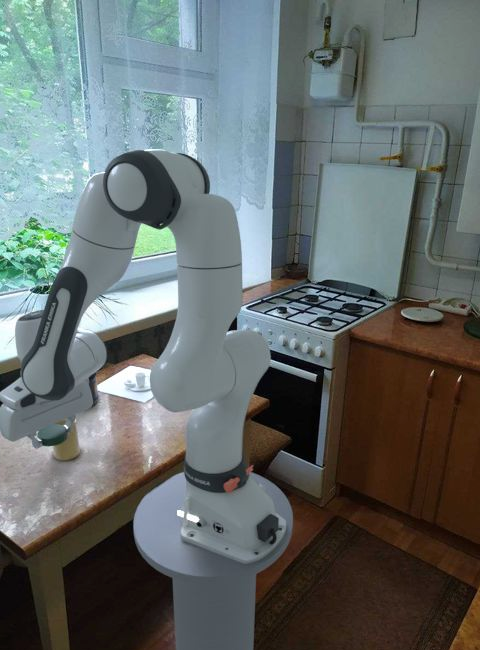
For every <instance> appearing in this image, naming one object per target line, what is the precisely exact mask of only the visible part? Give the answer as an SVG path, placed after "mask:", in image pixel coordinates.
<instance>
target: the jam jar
mask: <svg viewBox="0 0 480 650" xmlns="http://www.w3.org/2000/svg"><path fill="white" fill-rule="evenodd" d="M66 420H67V419H65V420H62V421H60V422H58V423H55V424H58V425H65V423H66ZM55 424H53V425H55ZM72 429H73V432H72V433H70V434H68V437H67V439H66V440H65V441H64V442H63V443H61V444H59V445H55V446H52V448H53V454H54V458H55V459H56V460H59V461H69V460H70V461H71V460H72V459H75V458H77V457H78V456H79V455H80V453H81V449H80V440H79V433H78V425H77V418H76V419H75V422H74V424H73V426H72Z"/></svg>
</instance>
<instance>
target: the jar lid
mask: <svg viewBox="0 0 480 650" xmlns="http://www.w3.org/2000/svg"><path fill="white" fill-rule="evenodd" d="M36 433H37V435H36V438H37V437H38V438H40V439H42V440H43V443H42V444H43V446H42V447H53V446H55V445H59V444H61V443H63V442H64V441H65V440H66V439H67V437H68V433H67V429H66V427H65V426H63V425H58V424H55V425H51V426H49V427H46V428H44V429H42V430H40V431H37V432H36Z"/></svg>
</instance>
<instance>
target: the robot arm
mask: <svg viewBox="0 0 480 650" xmlns="http://www.w3.org/2000/svg"><path fill="white" fill-rule="evenodd" d="M210 192H211V180H210V177H209V174H208V172H207V170H206V167H204V165H203V164H202V163H201V162H200V161H198V160H197V159H196V158H194V157H193V156H191V155H189V154H186V153H181V152H173V151H168V150H165V149H132V150H127V151H125V152H122V153H120V154H118V155H117V156H115V157H114V158H112V160H110V161H109V163H108V164H107V166H106V168H105V170H104V171H101V172H97V173H94V174H93V175H92V176H91V177H89V178H88V180H87V182H86V184H85V186H84V187H83V190H82V193H81V195H80V197H79V201H78V204H77V207H76V210H75V214H74V218H73V223H72V227H71V232H70V236H69V240H68V244H67V247H66V250H65V254H64V257H63V260H62V262H61V265H60V267H59V269H58V271H57V273H56V275H55V278H54V279H53V282H52V284H51V287H50V289H49V292H48V296H47V299H46V302H45V305H44V308H43V309H39V310H35V311H31V312H28V313H26V314H24V315H21V316H20V317H18V319H17V320H16V322H15V325H14V338H15V348H16V349H15V350H16V355H17V358H18V361H19V363H20V377H19V378H17V379H16V380H15V381H14V382H12V383H11V384H10V385H8V386H6V387H5V388H4V389H2V390H1V391H0V402H1V403H2V404H1V405H0V434H1V436H2V437H3V438H5V439H7V440H8V441H9V442H13V443H14V442H17V441H19V440H22V439H24V438H26V437H27V438H28V439H29V440H31V444H32V447H33V448H34V449H36V450H39V449H40V448H42V447H44V446H43V444H42V443H43V440H42V439H40V438H38V437H37V433H38V432H39V431H40V430H42V429H44V428H46V427H49V426H51V425H53V424H55V423H58V422H60V421H62V420H65V419H67V420H66V423H65V425H63V426H65V427H66V429H67V433H68V434H70V433H72V432H73V429H72V426H73V424H74V422H75V419H76V420H77V415H78V414H80V413H83V412H85V411H87V410H90V409H91V408H92V406H93V405H94V404H93V398H92V394H91V390H90V387H89V377H90V376H91V375H92V374H94V373H95V372H96V373H97V372H98V371H99V370H100V369H101V368H102V367H104V365H105V364H106V362H107V359H108V349H107V346H106V343H105V342H104V340H103V338H102V337H101V336H100V335H99V334H98V333H97V332H95V331H93V330H91V329H89V328H82V327H80V323H81V321H82V319H83V316H84V314H85V313H86V311H87V310H88V309H89V307H90V306H91V305H92V304H93V303H94V302H95V301H96V300H97V299H98V298H99V297H100V296H102V295H103V294H104V293H105V292H106V291H107V290H109V289H110V288H111V287H112V286H114V285H115V284H117V283H118V282H119V281H121V279H122V278H123V277H124V275H125V273H126V271H127V270H128V268H129V266H130V263H131V261H132V259H133V255H134V251H135V248H136V243H137V239H138V234H139V231H140V228H141V225H145V226H148V227H150V228H153V229H155V230H163V229H165V228H168V229H169V230H170V232H171V234H172V235H173V238H174V242H175V243H174V244H175V252H176V253H175V254H176V255H175V257H176V272H177V273H176V274H177V313H176V318H175V322H174V326H173V328H172V332H171V335H170V338H169V340H168V342H167V344H166V346H165V348H164V350H163V352H162V353H161V355H159V357H158V359H156V360H155V362H154V363H153V365H152V366H151V369H150V370H151V372H150V387H151V391H152V394H153V396H154V397H153V398H154V399H155V401H157V403H158V404H159V405H160V406H161V407H162V408H163V409H165V410H166V411H168V412H171V413H182V412H187V411H191V413H189V416H188V418H187V419H186V423H185V427H184V428H185V429H184V430H185V432H184V433H185V455H184V457H183V472H184V475H185V478H186V487H185V495H184V501H183V505H182V508H181V511H179V510H178V515H179V516H180V522H181V525H182V528H181V534H180V537H181V539H182V540H183V541H186V542H188V543H191V544H194V545H196V546H199V547H201V548H204V549H206V550H209V551H212V552H214V553H217V554H219V555H222V556H225V557H227V558H230V559H232V560H235V561H238V562H240V563H243V564H250V563H254V562H256V561H258V560H260V559H262V558H264V557H265V556H267V555H268V554H269V553H270V552H271V551H272V550H273V549H274V548H275V547H276V546H277V545H278V544H279V543H280V541H281V540H282V539H283V537H284V535H285V533H286V520H285V519H284V518H282V517H281V516H280V515H278V514H277V513H276V512H275V507H274V503H273V501H272V499H271V498H270V497H269V496H268V495H267V494H266V490H265V487H264V486H263V485H261V484H260V485H258V483H257V482H256V481H255V480H254V479H253V478H252V477H251V476H250V475H249V473H250V472H252V471H254V468H253V467H254V464H252V465H250V466H249V467H248V464H247V461H246V459H245V456H244V454H243V453H244V452H243V442H244V441H243V440H244V428H245V427H244V426H245V421H246V417H247V413H248V410H249V407H250V404H251V401H252V398H253V396H254V393H255V391H256V388H257V387H258V384H259V382H260V380H261V379H262V378H263V376H264V375H265V374H266V372H267V371H268V370H269V368H270V366H271V365H270V364H271V359H272V355H271V349H270V346H269V344H268V342H267V340H266V339H265V338H264V336H263V335H262V334H260V333H259V332H257V331H255V330H254V329H253V330H252V329H235V330H230V331H229V329H230V327H231V325H232V323H233V322H234V320H235V319H236V318H237V316H239V314H240V312H241V310H242V308H243V302H244V297H243V296H244V294H243V293H244V292H243V251H242V241H241V232H240V226H239V221H238V217H237V212H236V208H235V206H234V205H233V204H232V203H231V202H230V201H229V200H228V199H227V198H225V197H223V196H221V195H218V194H213V193H210ZM92 404H93V405H92ZM252 473H253V472H252ZM280 530H281V531H280ZM255 554H257V555H255Z"/></svg>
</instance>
